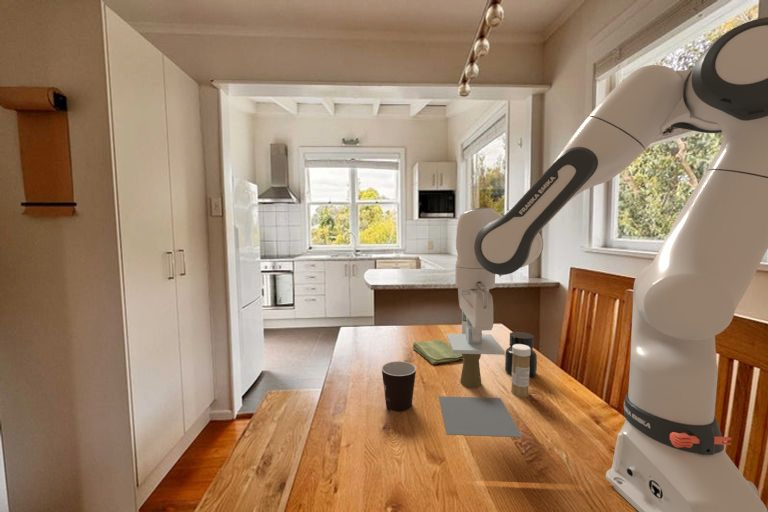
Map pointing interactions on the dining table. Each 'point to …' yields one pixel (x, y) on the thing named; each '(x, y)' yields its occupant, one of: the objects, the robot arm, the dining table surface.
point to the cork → (471, 371)
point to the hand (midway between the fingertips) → (473, 337)
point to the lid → (473, 344)
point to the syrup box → (464, 323)
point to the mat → (477, 417)
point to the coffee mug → (398, 385)
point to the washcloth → (436, 351)
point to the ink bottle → (525, 340)
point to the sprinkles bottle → (520, 370)
